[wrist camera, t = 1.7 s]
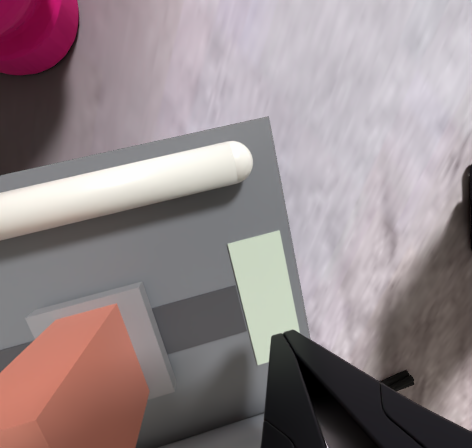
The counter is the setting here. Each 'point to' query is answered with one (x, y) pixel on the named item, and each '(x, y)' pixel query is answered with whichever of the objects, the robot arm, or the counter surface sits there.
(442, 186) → the counter surface
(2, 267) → the box
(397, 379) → the black thin rod
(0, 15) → the pepper mill
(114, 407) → the lever
